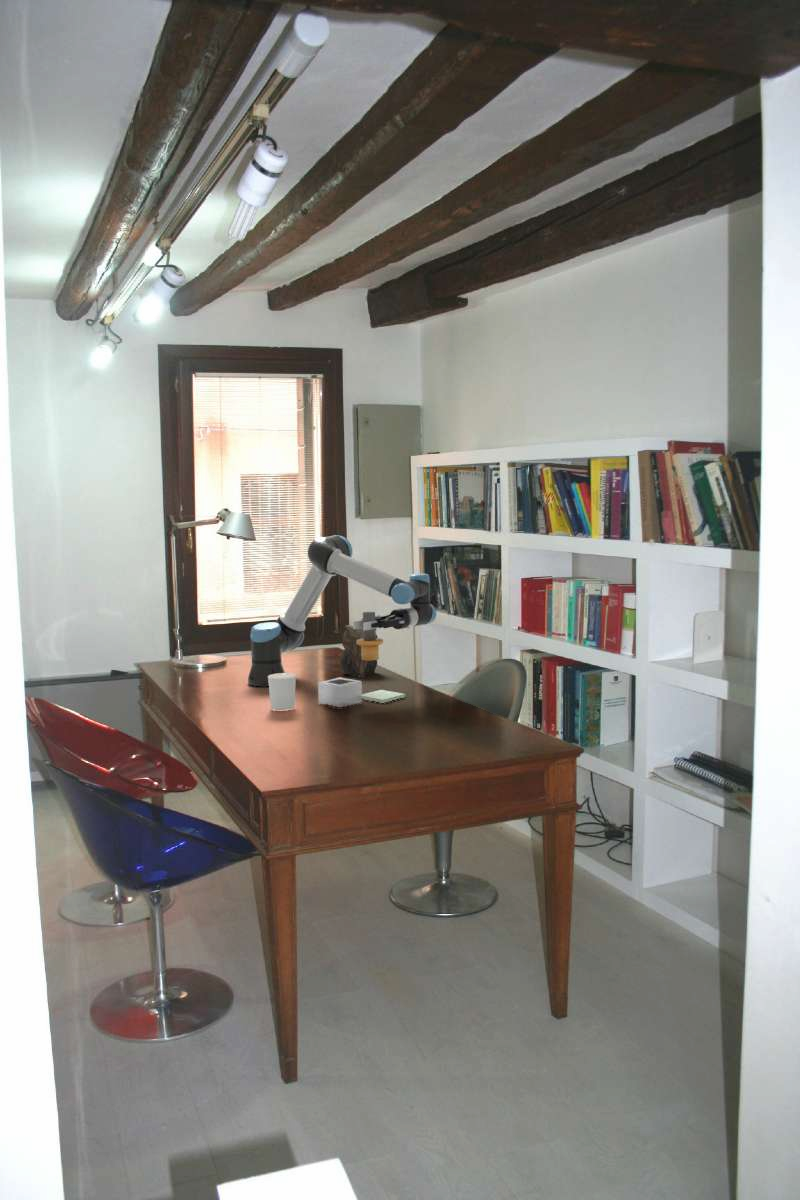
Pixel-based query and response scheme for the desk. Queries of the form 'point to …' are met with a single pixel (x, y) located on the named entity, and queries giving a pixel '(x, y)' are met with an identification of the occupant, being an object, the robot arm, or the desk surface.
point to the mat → (382, 696)
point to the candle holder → (282, 690)
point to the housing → (340, 692)
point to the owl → (355, 654)
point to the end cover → (369, 640)
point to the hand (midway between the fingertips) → (358, 626)
